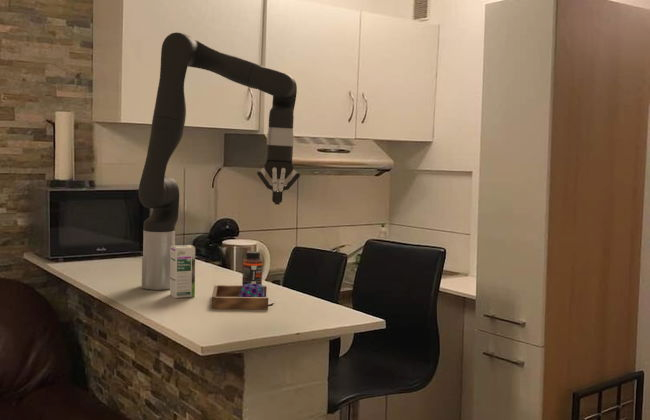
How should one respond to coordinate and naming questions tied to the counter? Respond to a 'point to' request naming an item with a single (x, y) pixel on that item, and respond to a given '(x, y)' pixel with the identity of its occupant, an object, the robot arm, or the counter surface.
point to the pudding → (253, 291)
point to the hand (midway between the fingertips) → (277, 204)
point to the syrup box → (182, 271)
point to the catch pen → (236, 298)
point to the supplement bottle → (252, 268)
